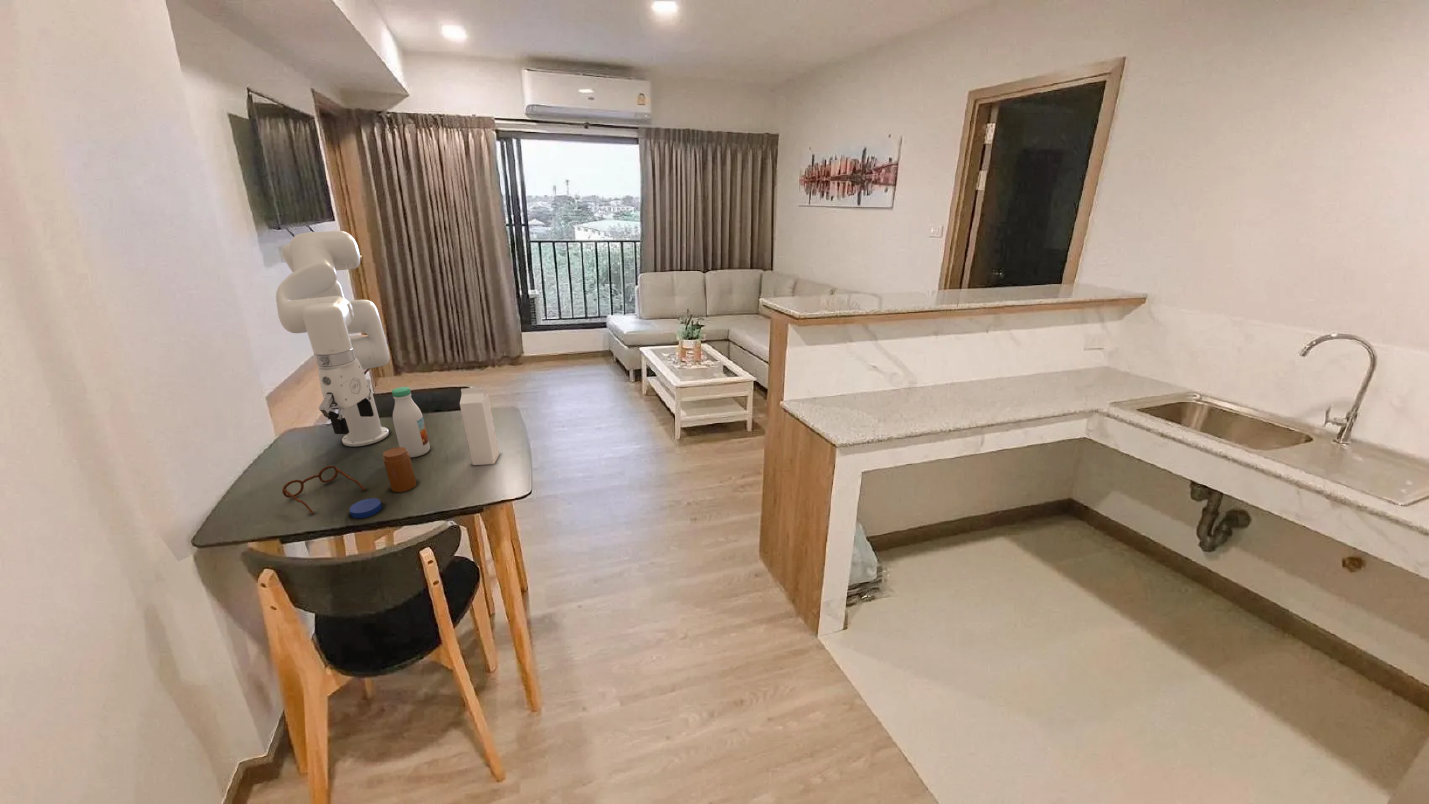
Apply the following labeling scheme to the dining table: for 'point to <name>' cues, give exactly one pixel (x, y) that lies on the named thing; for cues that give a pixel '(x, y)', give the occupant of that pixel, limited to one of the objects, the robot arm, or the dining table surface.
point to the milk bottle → (409, 423)
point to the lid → (365, 508)
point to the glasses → (312, 478)
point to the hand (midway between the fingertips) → (355, 424)
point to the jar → (399, 469)
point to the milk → (479, 426)
